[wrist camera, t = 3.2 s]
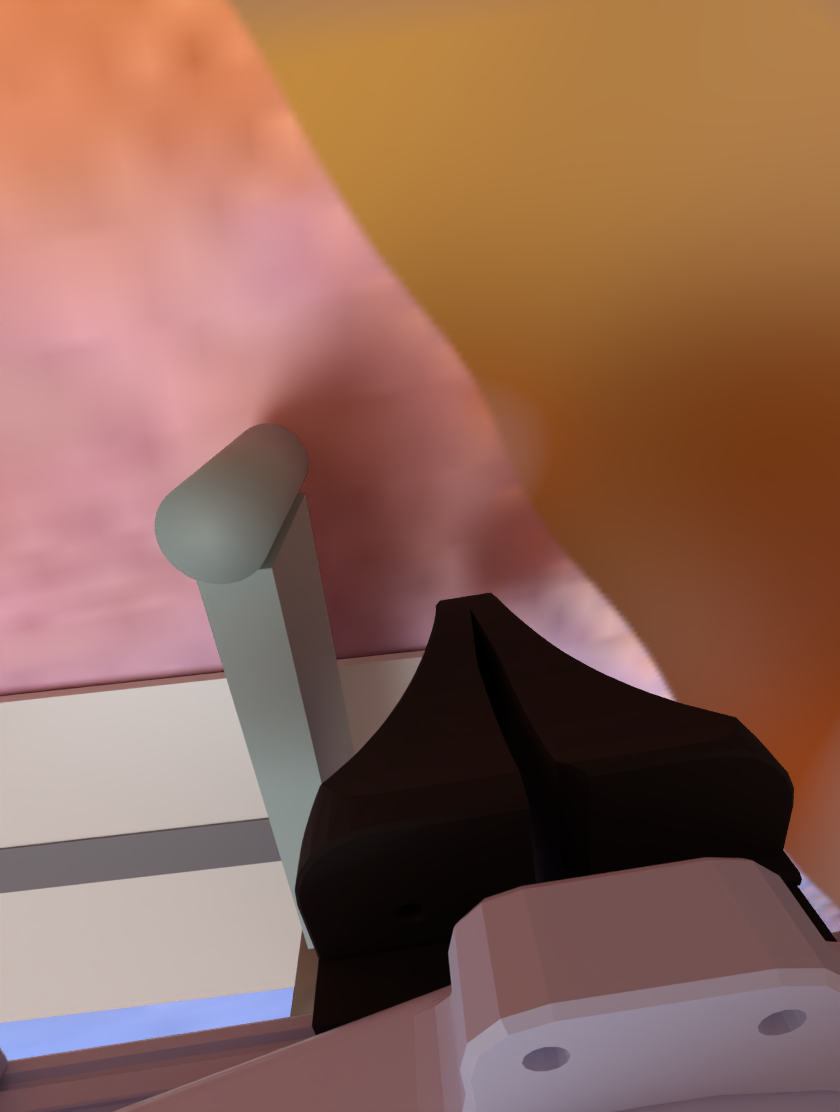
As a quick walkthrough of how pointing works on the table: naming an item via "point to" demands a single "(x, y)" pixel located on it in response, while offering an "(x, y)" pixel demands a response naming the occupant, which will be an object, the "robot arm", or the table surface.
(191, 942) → the card
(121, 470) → the table surface
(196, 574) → the fence panel
